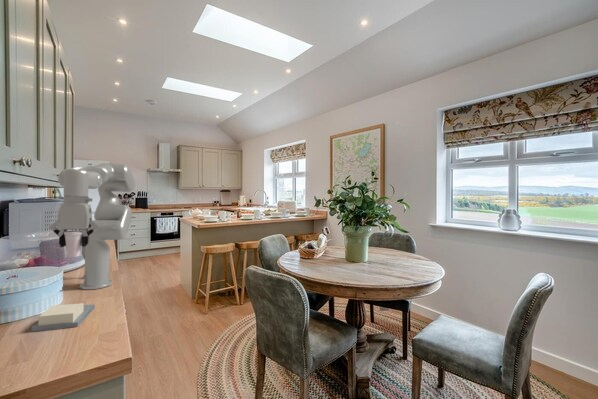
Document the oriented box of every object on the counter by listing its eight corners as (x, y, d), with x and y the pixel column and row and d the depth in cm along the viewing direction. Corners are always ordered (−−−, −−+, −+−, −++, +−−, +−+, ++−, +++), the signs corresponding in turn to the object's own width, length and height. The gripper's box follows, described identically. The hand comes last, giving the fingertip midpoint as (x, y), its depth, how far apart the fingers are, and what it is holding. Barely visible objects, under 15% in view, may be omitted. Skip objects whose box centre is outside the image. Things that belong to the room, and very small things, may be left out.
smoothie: (71, 258, 102) (73, 221, 102) (58, 256, 103) (59, 220, 103) (88, 255, 108) (89, 220, 108) (75, 253, 110) (76, 219, 110)
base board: (55, 311, 101) (56, 299, 101) (94, 308, 105) (94, 296, 105) (31, 331, 86) (31, 317, 86) (77, 326, 90) (78, 313, 90)
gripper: (105, 201, 113) (103, 244, 112) (53, 199, 107) (51, 245, 106) (98, 201, 106) (96, 247, 105) (42, 199, 100) (40, 248, 99)
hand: (73, 245), depth 106 cm, fingers closed on smoothie, 6 cm apart
